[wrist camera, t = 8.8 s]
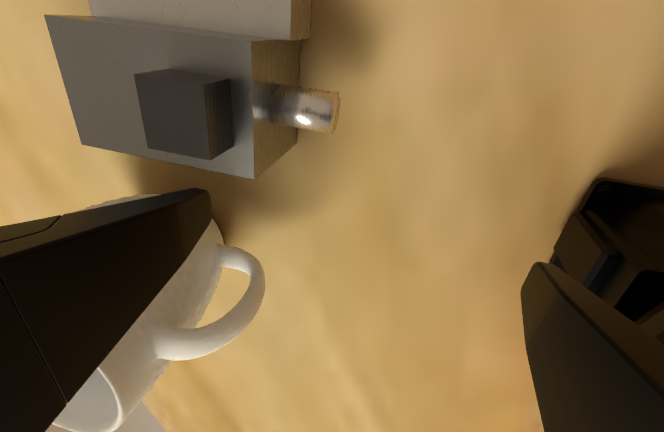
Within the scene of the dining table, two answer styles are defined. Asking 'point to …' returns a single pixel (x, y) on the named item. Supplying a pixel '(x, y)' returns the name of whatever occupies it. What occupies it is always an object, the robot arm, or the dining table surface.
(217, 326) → the mug
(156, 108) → the u-shaped channel
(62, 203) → the dining table surface
